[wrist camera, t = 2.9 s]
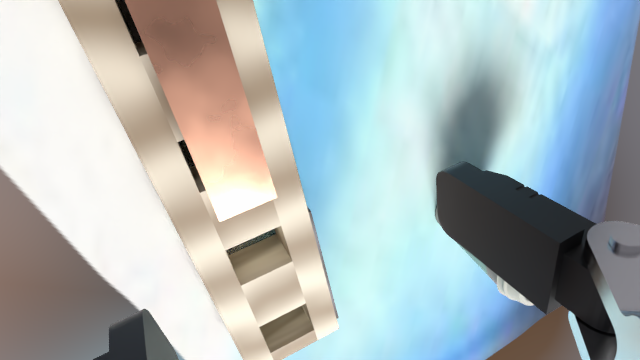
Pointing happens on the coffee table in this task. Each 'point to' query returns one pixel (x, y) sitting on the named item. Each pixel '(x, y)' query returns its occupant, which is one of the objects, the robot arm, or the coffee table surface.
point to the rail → (191, 196)
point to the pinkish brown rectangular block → (206, 99)
